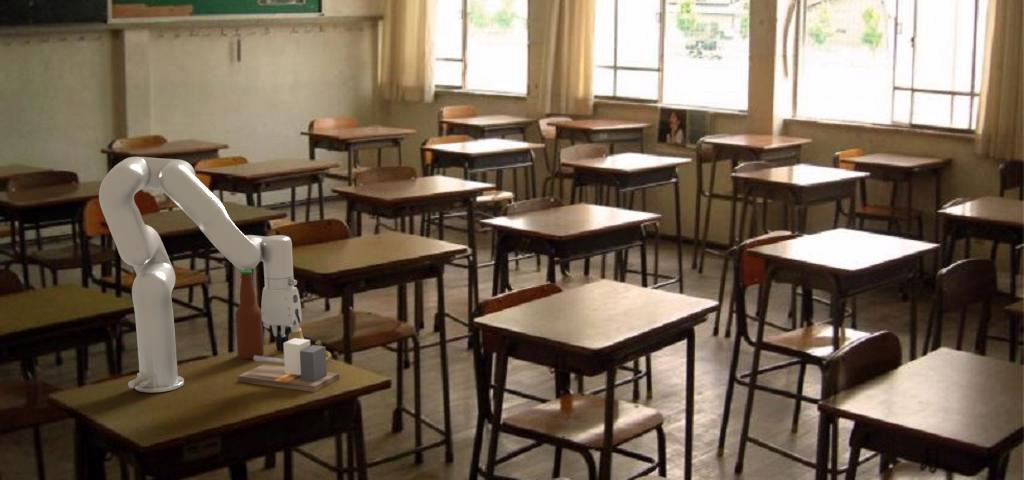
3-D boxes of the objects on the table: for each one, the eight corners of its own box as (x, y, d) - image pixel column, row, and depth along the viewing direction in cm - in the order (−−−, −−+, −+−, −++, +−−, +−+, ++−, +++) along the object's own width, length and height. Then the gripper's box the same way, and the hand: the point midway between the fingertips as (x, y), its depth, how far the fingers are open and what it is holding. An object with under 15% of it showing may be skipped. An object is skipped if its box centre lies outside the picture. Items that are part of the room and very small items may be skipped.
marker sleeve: (300, 375, 327) (299, 344, 325) (284, 372, 329) (283, 342, 327) (311, 369, 331) (310, 340, 330) (295, 367, 333) (294, 338, 332)
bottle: (267, 353, 358) (262, 267, 353) (259, 360, 350) (254, 273, 346) (242, 352, 358) (238, 267, 354) (234, 359, 351) (229, 273, 347)
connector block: (314, 382, 325) (312, 352, 323) (301, 380, 326) (299, 350, 325) (326, 375, 330) (325, 346, 329) (313, 374, 332) (312, 345, 330)
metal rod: (305, 367, 328) (305, 362, 328) (253, 361, 335) (253, 356, 334) (308, 366, 329) (308, 361, 329) (256, 359, 336) (256, 354, 336)
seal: (326, 371, 344) (335, 355, 358) (327, 355, 343) (336, 340, 357) (292, 368, 344) (302, 352, 358) (293, 351, 343) (304, 336, 357)
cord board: (314, 392, 321) (314, 385, 321) (237, 381, 331) (237, 375, 331) (339, 378, 332) (339, 372, 332) (264, 369, 342) (264, 363, 342)
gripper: (311, 282, 328) (314, 349, 331) (263, 277, 334) (267, 343, 337) (295, 288, 321) (298, 356, 325) (247, 283, 327) (251, 351, 331)
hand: (282, 350), depth 331 cm, fingers closed
